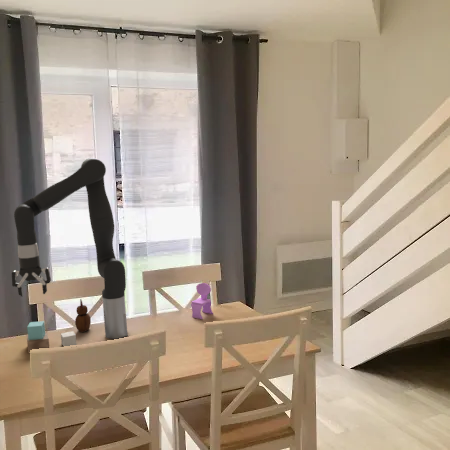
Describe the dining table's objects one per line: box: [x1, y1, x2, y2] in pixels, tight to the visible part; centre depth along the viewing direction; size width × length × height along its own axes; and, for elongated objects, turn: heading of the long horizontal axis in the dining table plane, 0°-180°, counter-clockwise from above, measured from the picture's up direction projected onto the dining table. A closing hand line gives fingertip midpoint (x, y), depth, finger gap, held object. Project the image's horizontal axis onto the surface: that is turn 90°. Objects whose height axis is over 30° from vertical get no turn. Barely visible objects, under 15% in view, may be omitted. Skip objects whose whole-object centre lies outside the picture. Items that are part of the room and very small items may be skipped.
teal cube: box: [26, 320, 46, 340], centre depth 211 cm, size 6×6×6 cm
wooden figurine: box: [74, 298, 92, 333], centre depth 228 cm, size 7×6×15 cm
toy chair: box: [190, 282, 214, 320], centre depth 242 cm, size 8×9×15 cm
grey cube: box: [60, 330, 78, 347], centre depth 213 cm, size 5×5×5 cm
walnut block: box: [26, 331, 50, 354], centre depth 211 cm, size 8×8×5 cm
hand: (33, 294), depth 208 cm, fingers open, 8 cm apart
